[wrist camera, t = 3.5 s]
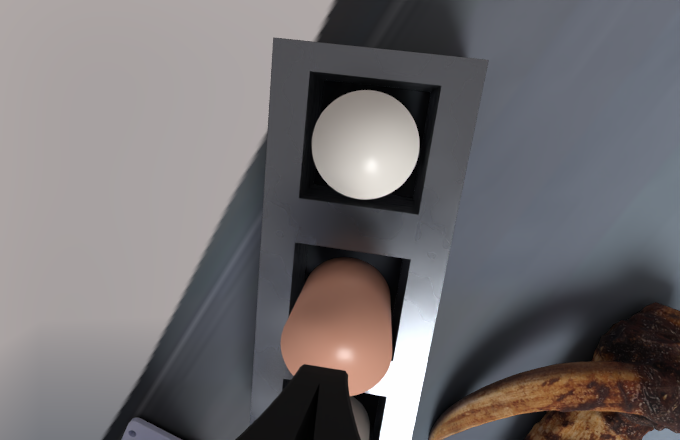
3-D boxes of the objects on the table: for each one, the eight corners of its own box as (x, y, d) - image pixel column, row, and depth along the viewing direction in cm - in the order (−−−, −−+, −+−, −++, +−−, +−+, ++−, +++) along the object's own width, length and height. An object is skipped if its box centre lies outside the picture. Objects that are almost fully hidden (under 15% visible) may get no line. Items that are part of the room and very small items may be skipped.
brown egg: (383, 343, 18) (383, 405, 14) (299, 329, 18) (276, 386, 14) (397, 264, 17) (400, 307, 13) (307, 250, 17) (285, 289, 13)
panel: (396, 444, 23) (398, 500, 19) (266, 419, 23) (246, 470, 20) (468, 71, 17) (488, 59, 14) (294, 53, 18) (273, 37, 14)
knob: (404, 187, 18) (409, 206, 14) (323, 176, 19) (307, 192, 15) (418, 101, 17) (428, 96, 13) (332, 91, 18) (317, 84, 14)
